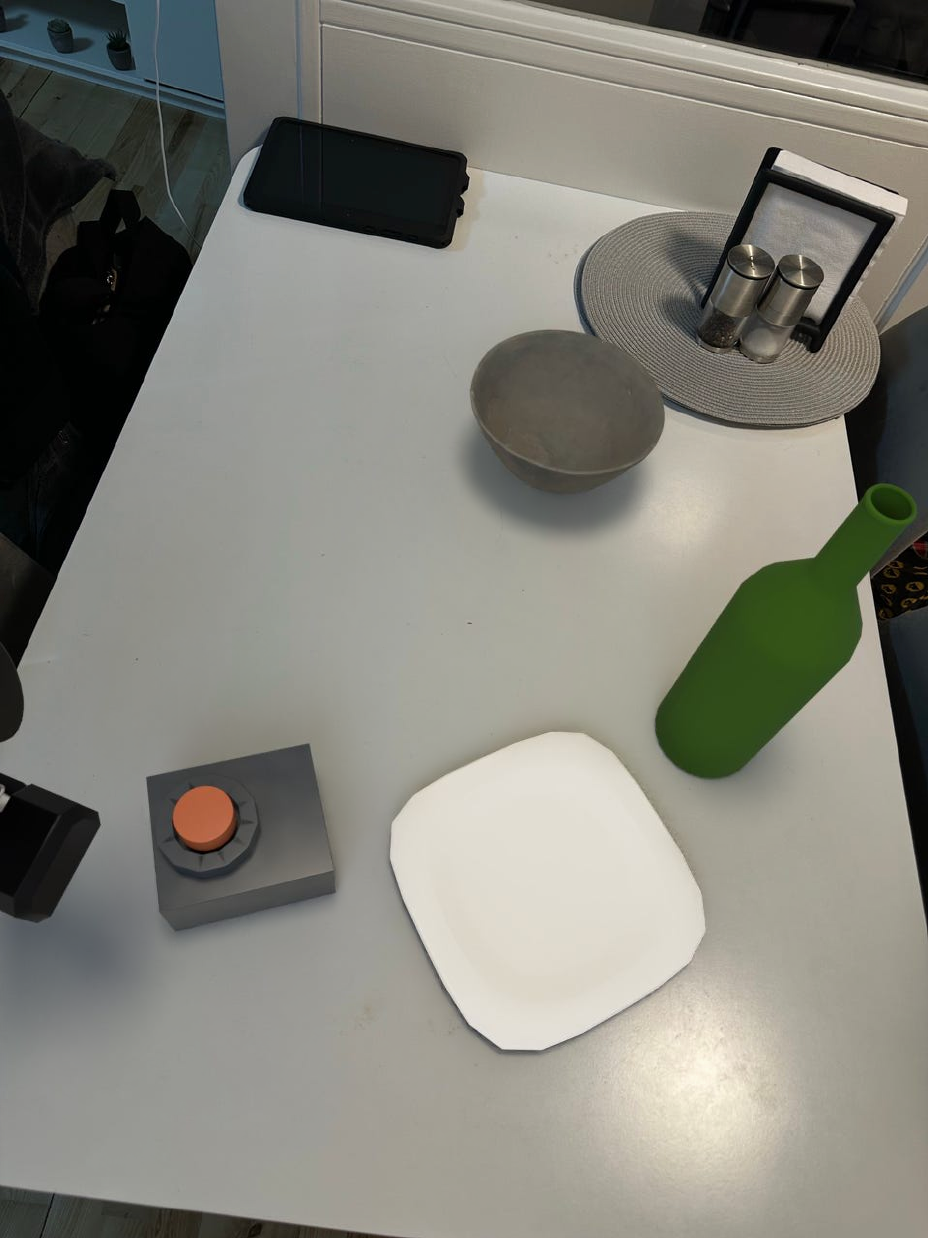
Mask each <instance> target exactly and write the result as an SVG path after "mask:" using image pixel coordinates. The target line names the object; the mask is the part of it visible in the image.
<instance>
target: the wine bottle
mask: <svg viewBox="0 0 928 1238" xmlns="http://www.w3.org/2000/svg"><path fill="white" fill-rule="evenodd" d="M917 515H918V507H917V503H916V502H915V500H914V498H913V497H912V496H911V495H910V493H908V492H907V491H905V490H904V489H903V488H900V487H899V486H897V485H894V484H891V483H884V482H883V483H877V484H874V485H872V486H870V487H869V488H868V489H867V490H866V492H865V493H864V496H863V497H862V498H861V499H860V500H859V501H858V503H857V504H856V506H854V508H853V509H852V510H851V512H850V513H849V514H848V515H847V517H846V518H845V519H844V520H843V521H842V523H841V524H840V525H839V526H838V528H837V529H836V530H835V532H833V534H832V535H831V536H830V538H829V539H828V540H827V541H826V543H825V544H824V545H823V546H822V547H821V549H820V550H819V551H818V552H817V554H816V555H815V556H814V557H807V558H801V559H799V558H798V559H790V560H782V561H774V562H772V563H769V564H767V565H765V566H762V567H761V568H760V569H758V570H757V571H755V572H754V573H753V574H751V575H750V576H749V577H747V578H746V579H745V580H743V581H742V582H741V583H740V585H739V587H738V588H737V590H736V591H735V593H734V594H733V595H732V597H731V598H730V599H729V601H728V602H727V604H726V606H725V607H724V608H723V610H722V612H721V613H720V614H719V615H718V618H717V619H716V620H715V622H714V623H713V625H712V627H710V629H709V630H708V632H707V634H706V635H705V637H704V638H703V639H702V641H701V642H700V644H699V645H698V646H697V648H696V650H695V652H694V653H693V654H692V656H691V657H690V659H689V660H688V662H687V664H686V665H685V667H684V668H683V670H682V671H681V672H680V674H679V676H678V677H677V678H676V680H675V681H674V683H673V684H672V686H671V687H670V689H669V691H668V692H667V693H666V695H665V696H664V698H663V699H662V701H661V702H660V704H659V705H658V708H657V712H656V715H655V734H656V737H657V740H658V744H659V746H660V747H661V749H662V751H663V752H664V754H665V756H666V757H667V758H668V760H670V761H671V762H672V763H673V764H674V765H675V766H676V767H678V768H679V769H681V770H682V771H684V772H685V773H687V774H690V775H691V776H692V775H693V776H696V777H698V778H703V779H713V780H714V779H720V778H721V779H722V778H727V777H730V776H732V775H734V774H736V773H739V772H740V771H741V770H742V769H743V768H744V767H745V766H746V765H747V764H748V763H749V762H750V761H751V760H752V759H753V758H754V757H755V756H756V755H758V753H759V752H760V751H761V750H762V749H763V748H764V747H765V746H766V745H768V743H769V742H770V741H771V740H772V739H774V737H776V735H777V734H778V733H779V732H781V730H782V729H783V728H784V727H786V726H787V724H788V723H789V722H790V721H791V720H792V719H793V718H794V717H795V716H796V715H797V714H798V713H799V712H800V711H801V710H802V709H804V707H806V705H808V704H809V702H811V700H812V699H813V698H814V697H815V696H816V695H817V694H819V692H821V690H822V689H823V688H825V686H826V685H827V684H829V682H830V681H832V679H833V678H834V677H836V675H837V674H838V673H839V672H840V671H841V670H842V669H843V668H845V667H846V665H847V664H848V663H850V661H851V660H852V657H853V655H854V653H855V651H856V649H857V647H858V645H859V642H860V641H861V638H862V636H863V635H862V634H863V628H864V627H863V625H864V621H863V616H862V611H861V604H860V598H859V593H858V586H859V584H861V582H862V581H863V580H864V578H865V577H866V576H867V575H868V574H869V572H870V571H871V570H872V569H873V568H874V566H875V565H876V564H877V563H878V562H879V561H880V559H881V558H882V557H883V556H884V555H885V554H886V552H887V551H888V550H889V549H890V548H891V547H892V545H893V544H894V543H895V542H896V540H897V539H898V538H899V537H900V536H901V535H902V533H903V532H904V531H905V530H906V528H907V527H908V526H909V525H911V524H912V523H913V522H914V521H915V520H916V517H917Z"/></svg>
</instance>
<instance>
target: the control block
mask: <svg viewBox="0 0 928 1238" xmlns="http://www.w3.org/2000/svg"><path fill="white" fill-rule="evenodd" d="M145 781H146V790H147V801H148V812H149V821H150V831H151V841H152V842H151V843H152V852H153V862H154V872H155V873H154V874H155V880H156V881H155V882H156V884H155V885H156V892H157V894H156V895H157V903H158V912H159V914H160V915H161V916H162V918H164V920H165V921H166V922H167V923H168V925H169V926H170V927H171V928H172V930H173V931H174V932H175V933H176V932H180V931H184V930H188V929H193V928H197V927H201V926H204V925H208V924H209V925H210V924H214V923H217V922H221V921H222V922H223V921H225V920H230V919H233V918H236V917H237V918H238V917H242V916H246V915H249V914H250V915H251V914H254V913H257V912H262V911H266V910H270V909H274V908H278V907H283V906H286V905H291V904H295V903H298V902H302V901H308V900H310V899H314V898H315V899H316V898H319V897H322V896H328V895H331V894H332V895H333V894H336V893H337V887H336V886H337V885H336V884H337V883H336V874H335V873H336V872H335V866H334V860H333V857H332V851H331V845H330V841H329V838H328V831H327V826H326V821H325V816H324V810H323V806H322V799H321V796H320V790H319V785H318V781H317V775H316V770H315V766H314V760H313V755H312V749H311V744H310V743H304V744H299V745H294V746H288V747H284V748H280V749H279V748H278V749H275V750H269V751H265V752H260V753H254V754H250V755H246V756H240V757H235V758H231V759H226V760H221V761H217V762H211V763H207V764H202V765H196V766H193V767H192V766H191V767H187V768H182V769H178V770H173V771H168V772H163V773H157V774H153V775H149V776H146V777H145ZM201 786H212V787H216V788H219V789H220V790H222V791H224V792H225V793H226V794H227V795H228V796H229V798H230V800H231V802H232V805H233V807H234V810H235V813H236V819H237V822H236V828H235V831H234V833H233V835H232V836H231V838H230V839H229V840H228V841H227V842H226V843H225V844H224V845H222V846H221V847H219V848H217V849H214V850H210V851H198V850H194V849H192V848H190V847H188V846H187V845H186V844H185V843H184V842H183V841H182V839H181V838H180V836H179V834H178V832H177V831H176V829H175V826H174V823H173V812H174V809H175V806H176V804H177V802H178V801H179V799H180V798H181V797H182V796H183V795H184V794H185V793H187V792H188V791H190V790H192V789H194V788H197V787H201Z"/></svg>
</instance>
